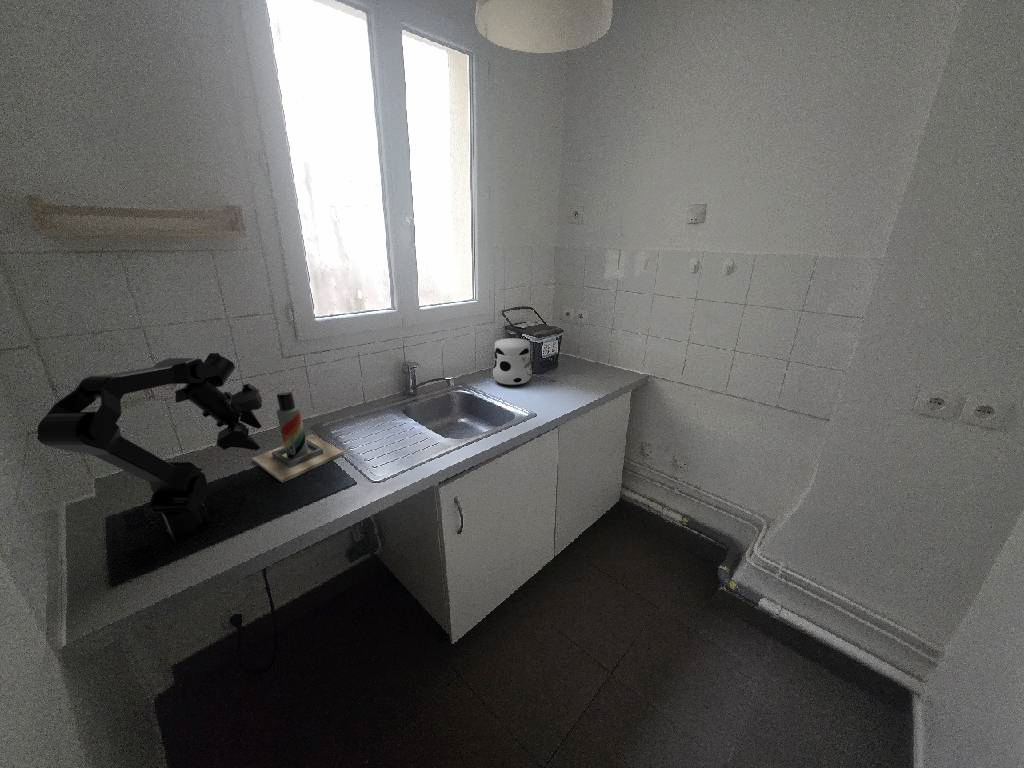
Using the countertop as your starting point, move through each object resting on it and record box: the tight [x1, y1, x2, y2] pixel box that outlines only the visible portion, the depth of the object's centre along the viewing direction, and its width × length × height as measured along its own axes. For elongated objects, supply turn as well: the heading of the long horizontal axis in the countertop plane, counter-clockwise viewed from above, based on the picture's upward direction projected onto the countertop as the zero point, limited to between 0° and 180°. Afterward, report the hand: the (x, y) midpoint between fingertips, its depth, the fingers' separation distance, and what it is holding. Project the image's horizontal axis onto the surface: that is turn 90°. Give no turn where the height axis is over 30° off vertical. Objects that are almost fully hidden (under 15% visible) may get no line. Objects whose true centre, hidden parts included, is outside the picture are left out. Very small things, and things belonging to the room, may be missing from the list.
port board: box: [251, 434, 345, 484], centre depth 118 cm, size 18×18×2 cm
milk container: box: [492, 337, 533, 387], centre depth 174 cm, size 17×17×18 cm
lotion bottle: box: [276, 391, 308, 460], centre depth 114 cm, size 6×6×20 cm
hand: (259, 437), depth 106 cm, fingers open, 9 cm apart
